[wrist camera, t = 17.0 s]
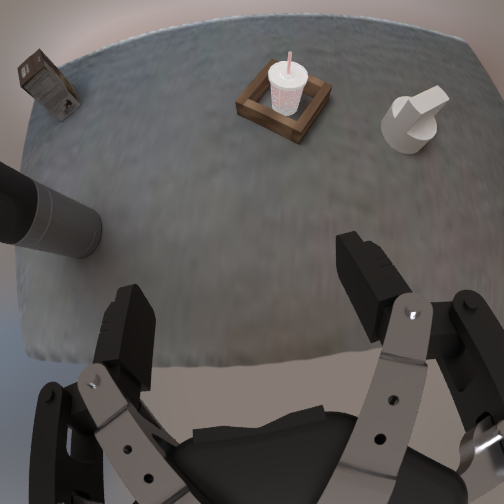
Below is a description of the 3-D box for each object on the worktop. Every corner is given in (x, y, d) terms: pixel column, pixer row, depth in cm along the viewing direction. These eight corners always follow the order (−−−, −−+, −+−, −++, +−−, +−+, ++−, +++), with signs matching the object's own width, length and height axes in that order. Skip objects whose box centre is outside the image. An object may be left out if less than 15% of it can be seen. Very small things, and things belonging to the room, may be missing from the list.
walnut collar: (237, 114, 47) (235, 101, 43) (271, 72, 48) (271, 58, 44) (298, 144, 46) (301, 132, 42) (328, 98, 47) (332, 85, 43)
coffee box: (53, 102, 51) (16, 67, 35) (73, 85, 51) (39, 46, 35) (60, 123, 50) (19, 87, 34) (82, 104, 50) (44, 64, 34)
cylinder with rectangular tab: (402, 162, 45) (433, 131, 33) (371, 123, 46) (394, 84, 34) (430, 143, 46) (461, 113, 34) (401, 107, 47) (426, 71, 35)
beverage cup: (308, 102, 47) (319, 49, 33) (291, 124, 47) (300, 72, 33) (278, 88, 48) (281, 34, 34) (261, 109, 47) (259, 56, 33)
